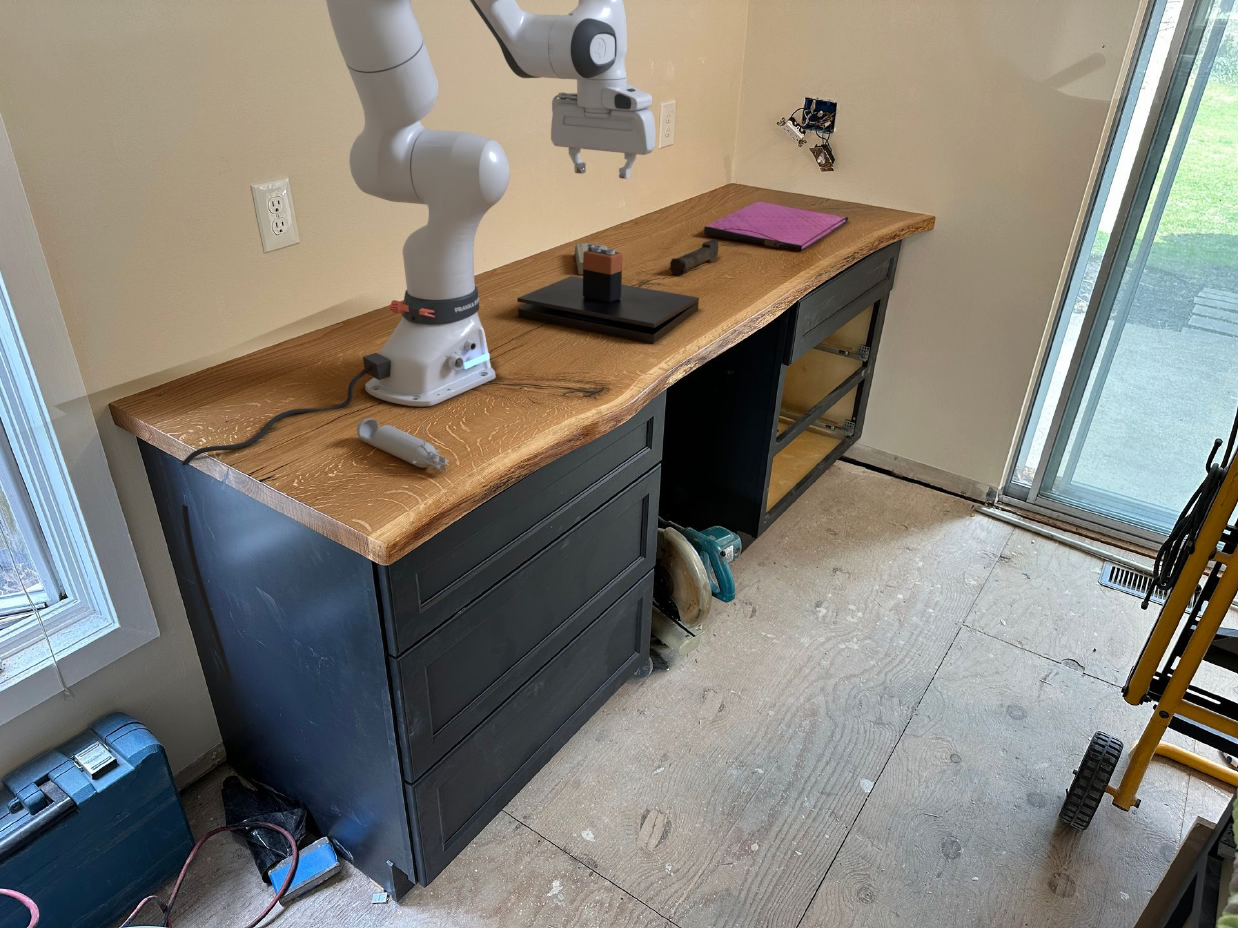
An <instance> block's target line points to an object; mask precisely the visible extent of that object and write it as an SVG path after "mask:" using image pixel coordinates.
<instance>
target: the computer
mask: <svg viewBox="0 0 1238 928" xmlns="http://www.w3.org/2000/svg"><path fill="white" fill-rule="evenodd" d="M593 245H595V244H594V243H583V242H581V243H576V244H575V246H574V256H575V262H576V268H577V274H578V275H583V253H584V252H585V251H588V250H591V249H592V248H591V246H593ZM598 245H599V246H602V249H603V250H607V249H609V248H608V246H607V245H603V244H598Z"/></svg>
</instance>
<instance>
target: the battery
mask: <svg viewBox="0 0 1238 928" xmlns="http://www.w3.org/2000/svg"><path fill="white" fill-rule="evenodd" d="M599 245H600V244H594V245H593V246H591V248H592V249H591V250H588V251H585V252H584V253H583V274H582V278H583V296H584V297H586V298H591V299H595V300H600V301H604V302H612V301H615V300H618V299H620V298H621V284H622V283H623V282H622V279H623V254H622V253H621V252H619V251H615V249H614V248H608V249H607V250H603V249H602V246H599ZM622 285H623V284H622Z"/></svg>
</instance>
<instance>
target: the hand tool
mask: <svg viewBox="0 0 1238 928" xmlns="http://www.w3.org/2000/svg"><path fill="white" fill-rule="evenodd" d="M717 240H718V239H717V238H716V239H715V238H714V239H709V240H706V241H704V242H702V244H701V247H699V248H697V249H695V250H693V251H691V252H689V253H686V254H684V255H682V256H679V257H677V258H675V257H674V258H671V260H670V262H669V263H670V264H669V267H670V268H669V270H670V272H671V274H672V275H676V276H683V275H684V274H687V273H688V271H689V270H691V269H694V268H695V267H698V266H699V265H701V264H704V263H712V262H714V261H715V260H716V259H717V257H718V256H719V248H720V247H719V246H720V245H719V240H718V241H717Z"/></svg>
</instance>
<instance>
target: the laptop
mask: <svg viewBox="0 0 1238 928" xmlns="http://www.w3.org/2000/svg"><path fill="white" fill-rule="evenodd" d="M699 304H700V302H699V301H698V302H697V303H695V304H693V305H692V306H690V307H688V308H687V309H685V310H683V311H682V312H680V313H678V314H677V315H675V316H673V317H671V318H670V319H668V320H666V321H665V322H663V323H661V324H660V325H658V326H656V327H655V328H652V327H647V326H642V325H637V324H631V323H626V322H621V321H616V320H610V319H605V318H600V317H595V316H589V315H584V314H579V313H574V312H568V311H563V310H558V309H552V308H547V307H542V306H537V305H531V304H526V303H525V304H524V305H521V306H519V307H518V308H517V317H518V318H522V319H527V320H531V321H537V322H542V323H546V324H553V325H557V326H561V327H566V328H571V329H576V330H581V331H588V332H591V333H597V334H602V335H607V336H613V337H617V338H621V339H627V340H633V341H637V342H642V343H646V344H647V343H648V344H652V345H654V344H655V343H657V342H659V340H661V339H662V338H663V337H665V336H666V335H667V334H669V333H670V332H671V331H673V330H674V329H676V328H677V327H678V326H679V325H681V324H682V323H683V322H684V321H686V320H687V319H689V318H690V317H692V316H693V315H694V314H696V313H697V312H698V311H699Z"/></svg>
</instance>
